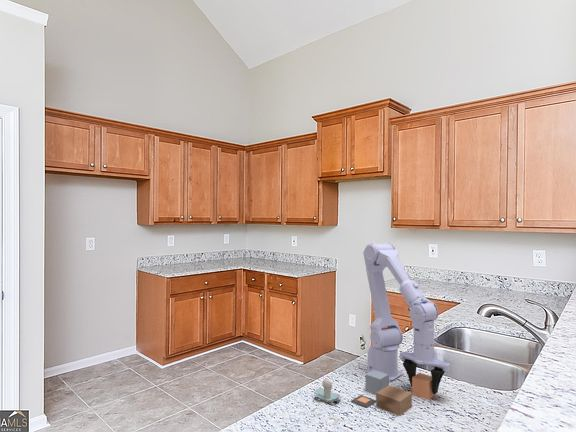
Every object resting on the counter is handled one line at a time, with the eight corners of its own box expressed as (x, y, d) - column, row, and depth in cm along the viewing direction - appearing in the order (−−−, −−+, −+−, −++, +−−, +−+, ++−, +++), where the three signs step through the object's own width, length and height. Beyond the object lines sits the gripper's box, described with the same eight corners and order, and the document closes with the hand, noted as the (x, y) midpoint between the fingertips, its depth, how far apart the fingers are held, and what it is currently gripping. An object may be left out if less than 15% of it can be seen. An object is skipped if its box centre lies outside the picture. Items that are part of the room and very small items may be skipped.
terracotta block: (412, 394, 107) (412, 377, 107) (419, 389, 110) (419, 372, 110) (428, 400, 103) (428, 382, 103) (435, 394, 107) (435, 377, 107)
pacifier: (321, 393, 107) (312, 400, 102) (322, 371, 108) (313, 377, 103) (344, 399, 104) (336, 407, 99) (345, 377, 104) (336, 383, 99)
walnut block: (376, 407, 99) (376, 392, 99) (388, 399, 104) (388, 385, 104) (399, 417, 94) (399, 401, 94) (411, 407, 99) (411, 393, 99)
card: (351, 401, 101) (351, 399, 101) (361, 396, 105) (361, 394, 105) (366, 408, 98) (366, 405, 98) (376, 401, 102) (376, 399, 102)
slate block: (365, 391, 109) (365, 374, 109) (374, 386, 112) (374, 369, 112) (380, 396, 105) (380, 379, 105) (388, 391, 109) (388, 374, 109)
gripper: (394, 340, 109) (394, 385, 109) (443, 352, 99) (443, 402, 99) (405, 335, 114) (405, 378, 114) (452, 346, 104) (452, 393, 104)
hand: (423, 389), depth 107 cm, fingers open, 6 cm apart
